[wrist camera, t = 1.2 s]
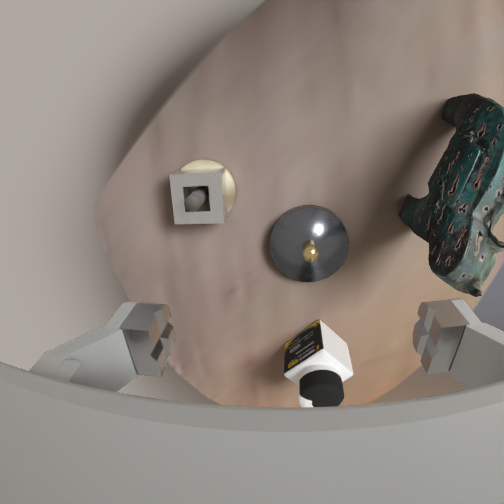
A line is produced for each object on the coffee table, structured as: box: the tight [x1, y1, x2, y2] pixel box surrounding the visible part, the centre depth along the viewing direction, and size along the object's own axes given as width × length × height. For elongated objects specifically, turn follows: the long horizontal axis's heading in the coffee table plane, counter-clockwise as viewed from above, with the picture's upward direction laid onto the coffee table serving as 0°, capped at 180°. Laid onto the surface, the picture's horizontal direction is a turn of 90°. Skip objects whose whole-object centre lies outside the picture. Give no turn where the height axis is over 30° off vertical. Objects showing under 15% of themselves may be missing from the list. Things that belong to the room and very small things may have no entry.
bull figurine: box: [399, 93, 504, 297], centre depth 26 cm, size 20×6×20 cm, turn 160°
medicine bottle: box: [284, 320, 353, 407], centre depth 43 cm, size 7×7×12 cm
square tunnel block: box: [169, 168, 228, 224], centre depth 38 cm, size 6×6×3 cm
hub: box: [270, 205, 349, 282], centre depth 40 cm, size 10×10×4 cm
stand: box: [180, 159, 236, 212], centre depth 37 cm, size 8×8×6 cm
